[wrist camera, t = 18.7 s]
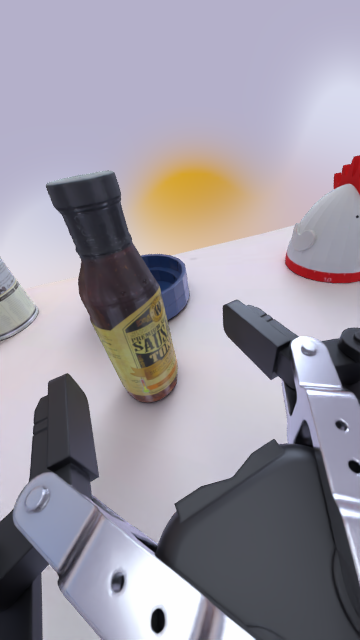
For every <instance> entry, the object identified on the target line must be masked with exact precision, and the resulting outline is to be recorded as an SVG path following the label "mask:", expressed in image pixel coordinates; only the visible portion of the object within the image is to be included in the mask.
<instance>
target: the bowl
mask: <svg viewBox="0 0 360 640" xmlns="http://www.w3.org/2000/svg"><path fill="white" fill-rule="evenodd" d="M141 257H142V259H143V261H144V262H145V264H146V265H147V267H148V269H149V270H150V272H151V273H152V275H153V277H154V278H155V280H156V281H157V282H158V284H159V286H160V290H161V294H162V299H163V303H164V308H165V313H166V317H167V321H168V320H169V319H171V318H172V317H174V316H175V315H177V314H178V313H179V312H180V311H181V310H182V309H183V308H184V307H185V305H186V304H187V301H188V299H189V296H190V294H189V288H188V281H187V274H186V268H185V264H184V263H183V262H182V261H181V260H180V259H178V258H176V257H173V256H170V255H163V254H148V255H142V256H141Z"/></svg>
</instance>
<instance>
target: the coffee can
mask: <svg viewBox="0 0 360 640" xmlns="http://www.w3.org/2000/svg"><path fill="white" fill-rule="evenodd" d="M37 314H38V308H37V306H35V304H34V303H33V302H32V300H31V299H30V298H29V296H28V295H27V293H26V292H25V291H24V289H23V288H22V287H21V285H20V284H19V283H18V281H17V280H16V278H15V277H14V276H13V275H12V273H11V271H10V270H9V269H8V267H7V266H6V265H5V263H4V262H3V261H2V259H1V258H0V340H3V339H6V338H8V337H11V336H13V335H15V334H16V333H18V332H20V331H21V330H23V329H24V328H26V327H27V326H28V325H29V324H31V323H32V322H33V320H34V319H35V318H36V316H37Z"/></svg>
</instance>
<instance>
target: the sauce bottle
mask: <svg viewBox="0 0 360 640" xmlns="http://www.w3.org/2000/svg"><path fill="white" fill-rule="evenodd" d="M46 188H47V191H48V193H49V195H50V198H51V201H52V203H53V206H54V207H55V208H56V209H57V210H58V211H59V212H60V213H61V214H62V216H63V218H64V221H65V223H66V225H67V227H68V229H69V233H70V235H71V236H72V239H73V242H74V244H75V245H76V252H77V253H78V254H79V256H80V258H81V261H82V262H81V268H80V273H79V278H78V281H79V282H78V286H79V294H80V297H81V300H82V302H83V304H84V305H85V307H86V309H87V311H88V313H89V315H90V320H91V323H92V325H93V326H94V328H95V330H96V332H97V334H98V336H99V338H100V340H101V342H102V344H103V346H104V348H105V350H106V352H107V354H108V356H109V358H110V360H111V362H112V364H113V366H114V368H115V370H116V372H117V374H118V376H119V378H120V380H121V382H122V384H123V386H124V387H125V388H126V389H127V391H128V393H129V394H130V395H131V396H132V397H133V398H134V399H136V400H138V401H140V402H149V403H150V402H155V401H158V400H160V399H162V398H163V397H165V396H166V395H167V394H169V393H170V392H171V391H172V390H173V388H174V386H175V385H176V381H177V369H178V366H177V361H176V356H175V352H174V348H173V343H172V339H171V334H170V329H169V326H168V321H167V317H166V313H165V308H164V303H163V299H162V294H161V290H160V286H159V284H158V282H157V281H156V280H155V278H154V277H153V275H152V273H151V272H150V270H149V269H148V267H147V265H146V264H145V262H144V261H143V259H142V257H141V256H140V254H139V253H138V251H137V249H136V248H135V246H134V245H133V243H132V238H131V235H130V234H129V232H128V228H127V225H126V221H125V217H124V214H123V211H122V207H121V202H120V201H121V192H120V189H119V185H118V182H117V179H116V176H115V173H114V172H112V171H102V172H96V173H91V174H86V175H79V176H74V177H69V178H65V179H61V180H57V181H53V182H49V183H47V184H46Z"/></svg>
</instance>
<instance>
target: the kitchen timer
mask: <svg viewBox="0 0 360 640" xmlns="http://www.w3.org/2000/svg"><path fill="white" fill-rule="evenodd" d="M285 263H286V265H287V267H288V268H289V269H290V270H291V271H293V272H294V273H296V274H298V275H300V276H302V277H305V278H308V279H312V280H316V281H321V282H330V283H351V282H357V281H360V156H355V157H354V158H353V160H352V163H351V164H348V165H344V166H343V168H342V174H341V173H336V174H334V190H332V191H331V192H329V193H327V194H326V195H325V196H323V197H322V198H321V199H320V200H319V201H318V202H317V203H315V205H314V206H313V207H312V208H311V209H310V210H309V211H308V213H307V214H306V215H305V216H304V218H303V219H302V221H301V222H300V224H298V223H296V224H295V227H294V230H293V235H292V238H291V241H290V243H289V245H288V248H287V253H286V261H285Z"/></svg>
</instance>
